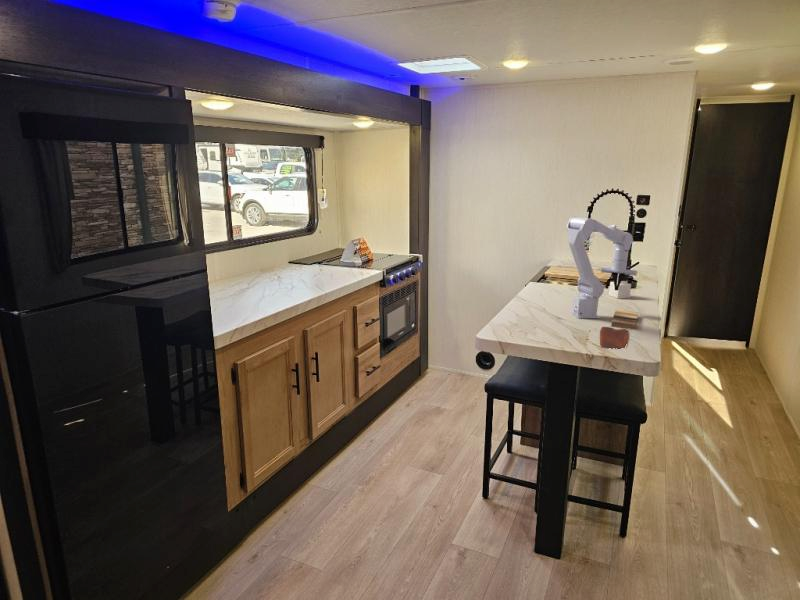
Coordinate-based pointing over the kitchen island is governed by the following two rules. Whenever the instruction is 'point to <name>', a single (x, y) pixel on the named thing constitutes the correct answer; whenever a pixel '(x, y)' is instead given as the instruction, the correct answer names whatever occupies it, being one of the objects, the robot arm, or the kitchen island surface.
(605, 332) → the wooden tablet
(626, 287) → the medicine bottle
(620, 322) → the walnut board
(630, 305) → the kitchen island surface
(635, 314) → the oak plank
